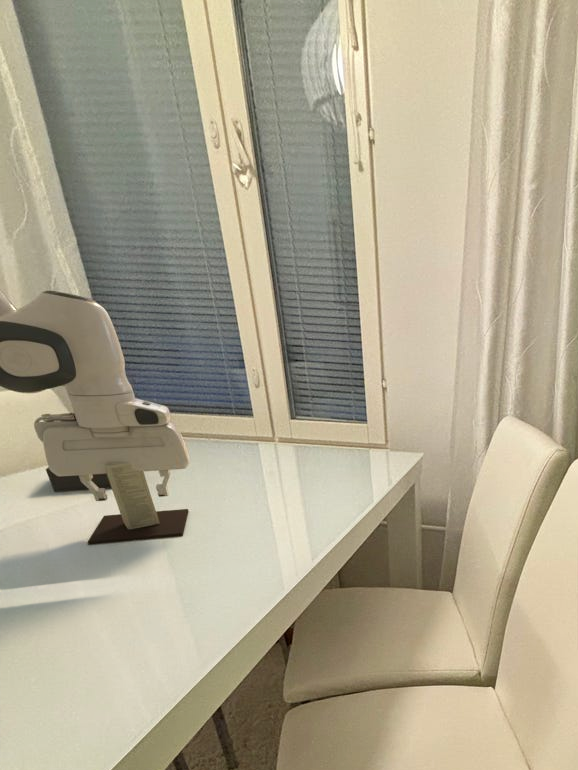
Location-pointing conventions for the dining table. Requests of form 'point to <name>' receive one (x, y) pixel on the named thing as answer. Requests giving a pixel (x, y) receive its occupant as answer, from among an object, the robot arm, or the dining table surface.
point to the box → (132, 495)
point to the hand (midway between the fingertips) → (133, 497)
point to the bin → (75, 482)
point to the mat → (116, 530)
